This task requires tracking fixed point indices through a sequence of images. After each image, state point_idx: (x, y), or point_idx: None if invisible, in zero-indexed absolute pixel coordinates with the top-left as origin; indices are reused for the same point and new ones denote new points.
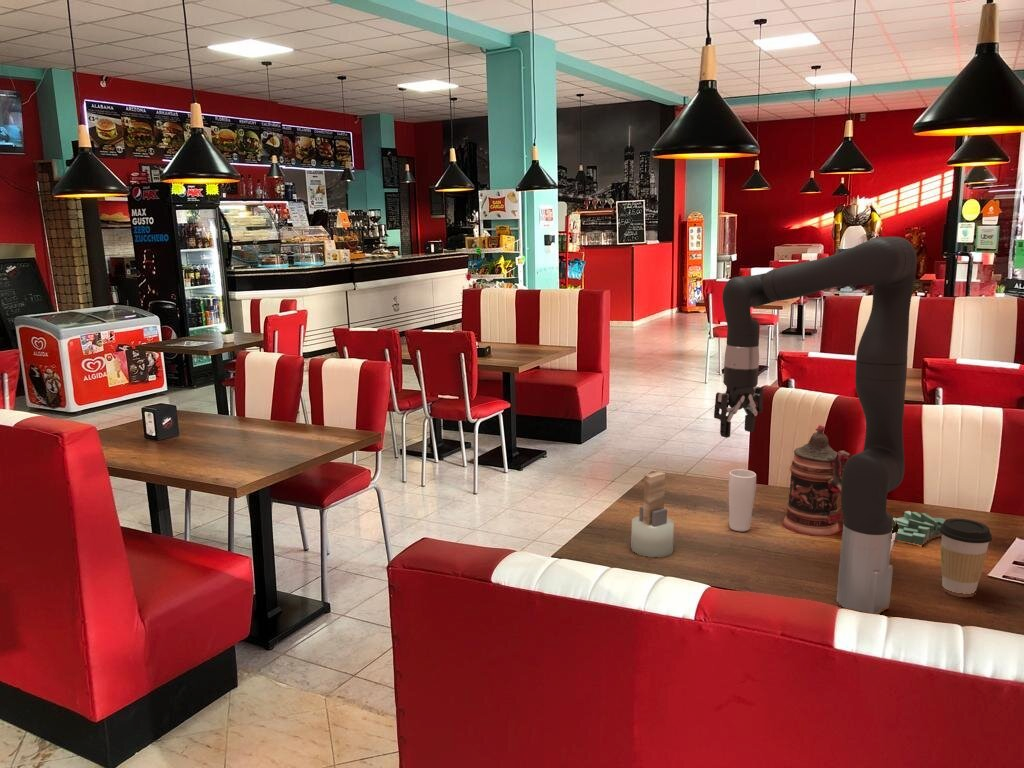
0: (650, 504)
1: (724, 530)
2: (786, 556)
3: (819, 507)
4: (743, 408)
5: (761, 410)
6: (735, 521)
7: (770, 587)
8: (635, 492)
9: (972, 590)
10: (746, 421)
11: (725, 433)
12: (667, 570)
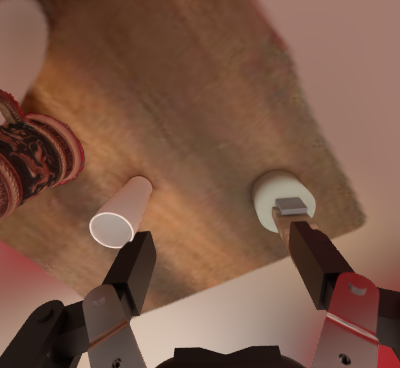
0: (311, 222)
1: (161, 191)
2: (145, 92)
3: (27, 133)
4: (143, 359)
5: (44, 309)
6: (148, 188)
7: (243, 21)
8: (176, 300)
9: None
10: (145, 282)
11: (323, 234)
12: (309, 139)
